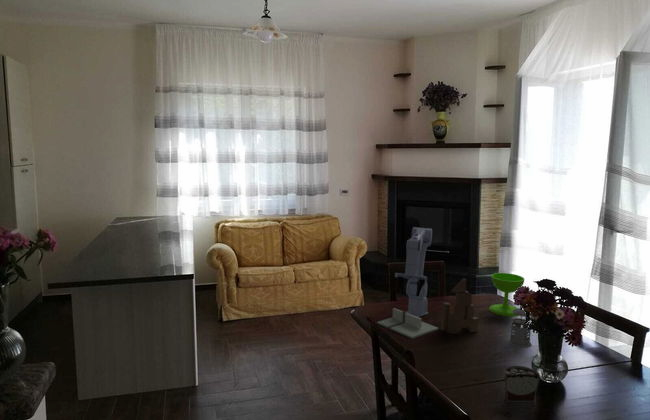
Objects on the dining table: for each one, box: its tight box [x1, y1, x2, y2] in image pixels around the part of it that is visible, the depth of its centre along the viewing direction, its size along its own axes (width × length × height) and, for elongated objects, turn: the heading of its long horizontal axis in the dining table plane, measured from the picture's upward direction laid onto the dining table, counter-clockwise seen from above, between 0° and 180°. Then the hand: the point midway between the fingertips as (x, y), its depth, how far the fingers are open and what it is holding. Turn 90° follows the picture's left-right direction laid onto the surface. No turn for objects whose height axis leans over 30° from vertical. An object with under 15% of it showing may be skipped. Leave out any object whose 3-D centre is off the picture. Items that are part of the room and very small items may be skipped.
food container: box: [502, 365, 542, 403], centre depth 163 cm, size 12×6×10 cm, turn 92°
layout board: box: [376, 317, 439, 340], centre depth 224 cm, size 18×22×1 cm
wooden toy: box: [440, 277, 479, 335], centre depth 219 cm, size 16×7×25 cm, turn 104°
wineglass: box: [488, 272, 525, 317], centre depth 247 cm, size 16×16×18 cm
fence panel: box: [405, 313, 423, 329], centre depth 222 cm, size 9×1×4 cm, turn 38°
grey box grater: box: [507, 307, 533, 349], centre depth 207 cm, size 10×12×25 cm
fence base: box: [391, 307, 406, 323], centre depth 229 cm, size 1×8×5 cm, turn 38°
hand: (409, 295), depth 218 cm, fingers open, 7 cm apart
